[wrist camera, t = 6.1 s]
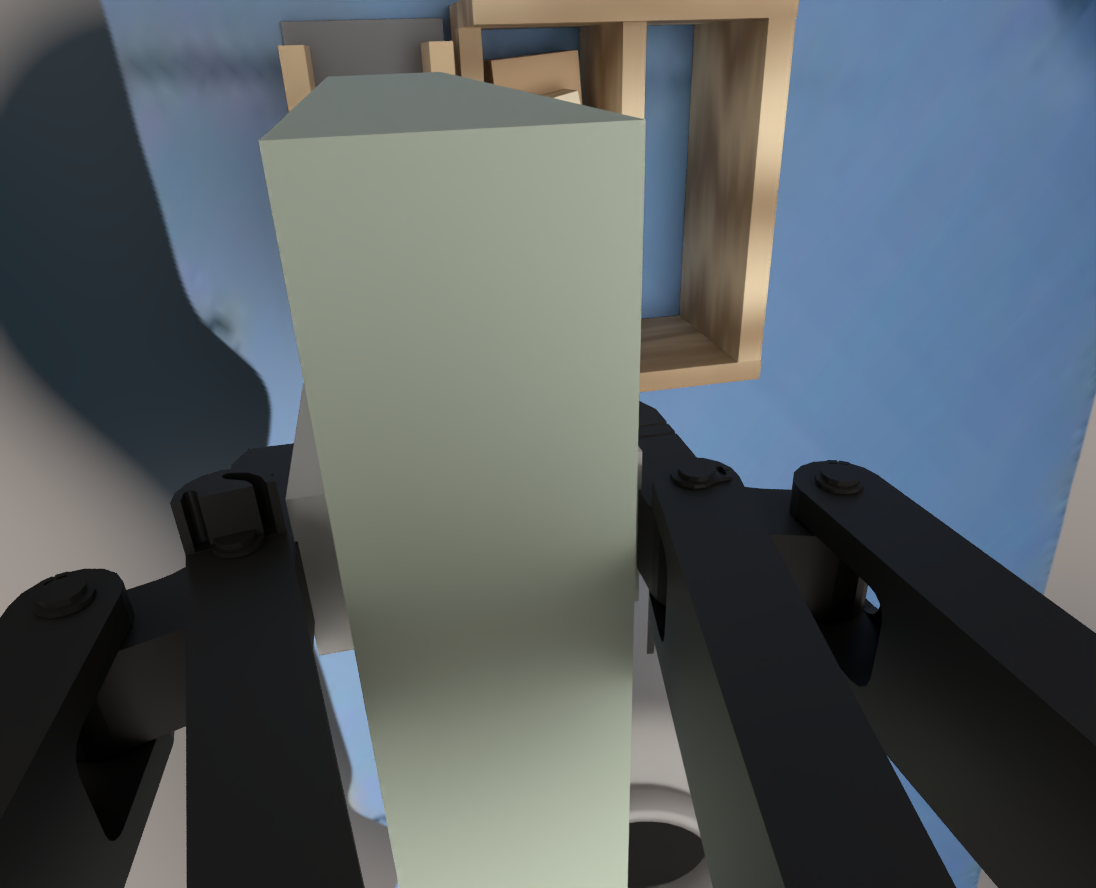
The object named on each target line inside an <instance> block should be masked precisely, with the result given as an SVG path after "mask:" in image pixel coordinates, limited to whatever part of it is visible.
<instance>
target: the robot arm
mask: <svg viewBox="0 0 1096 888" xmlns="http://www.w3.org/2000/svg"><path fill="white" fill-rule="evenodd" d="M170 504H171V508H172V511H173V514H174V518H175V521H176V524H177V528H178V531H179V535H180V538H181V541H182V544H183V548H184V551H185V555H186V567H185V568H183V569H181V570H179V571H177V572H176V573H173V574H171V575H169V576H166V577H164V578H161V579H159V580H156V581H153V582H150V583H147V584H144V585H140V586H137V587H134V588H131V589H128V590H126V589H125V586H124V583H123V581H122V580H121V578H120V577H119V575H118V574H117V573H115V572H111V571H109V570H106V569H82V570H77V571H72V572H64V573H61V574H57V575H55V577H50V578H47V579H45V580H43V581H41V582H40V583H38V584H36V585H35V586H33V587H32V588H30V589H28V590H27V591H25V592H23V593H22V594H21V595H20V596H19V597H18V598H16V600H14V601H13V602H12V603H11V604H10V605H9V606H8V608H7V609H6V610H5V612H4V613H3V615H2V616H1V617H0V888H124V886H125V883H126V880H127V877H128V875H129V872H130V868H131V866H132V863H133V860H134V857H135V854H136V851H137V848H138V845H139V842H140V839H141V837H142V833H143V831H144V828H145V825H146V822H147V819H148V816H149V813H150V810H151V807H152V804H153V801H154V798H155V795H156V793H157V790H158V787H159V783H160V781H161V778H162V775H163V772H164V769H165V766H166V763H167V760H168V757H169V754H170V752H171V749H172V746H173V742H174V731H175V730H177V729H180V728H182V727H185V726H186V778H187V779H186V781H187V782H186V784H187V785H186V792H187V793H186V795H187V796H186V800H187V801H186V803H187V804H186V808H187V888H365V887H364V882H363V878H362V873H361V869H360V864H359V859H358V855H357V850H356V845H355V841H354V836H353V832H352V827H351V822H350V818H349V813H348V809H347V804H346V800H345V795H344V790H343V786H342V781H341V776H340V772H339V767H338V763H337V758H336V754H335V749H334V744H333V740H332V735H331V731H330V726H329V722H328V717H327V712H326V708H325V703H324V698H323V694H322V690H321V685H320V680H319V675H318V671H317V666H316V662H315V657H314V653H313V643H314V634H315V639H316V643H317V648H318V653H319V655H324V654H330V653H336V652H342V651H348V650H354V645H353V640H352V635H351V629H350V624H349V619H348V613H347V608H346V603H345V598H344V592H343V587H342V582H341V576H340V571H339V566H338V560H337V555H336V550H335V544H334V539H333V534H332V529H331V523H330V518H329V513H328V507H327V502H326V497H325V491H324V486H323V481H322V476H321V470H320V465H319V460H318V454H317V449H316V444H315V438H314V433H313V428H312V422H311V417H310V412H309V407H308V401H307V396H306V391H305V385H304V382H303V388H302V395H301V401H300V408H299V414H298V421H297V427H296V434H295V441H294V444H286V445H277V446H269V447H261V448H253V449H248V450H247V451H246V452H245V453H244V454H243V455H241V456H240V457H239V458H238V459H237V460H236V461H235V462H234V463H233V464H232V466H231V469H227V470H221V471H217V472H214V473H211V474H207V475H203V476H201V477H199V478H197V479H195V480H193V481H191V482H189V483H187V484H185V485H184V486H183V487H182V488H181V489H179V490H178V491H177V492H176V493H175V494H174V496H173V498H172V501H171V503H170ZM639 572H640V574H641V576H642V578H643V580H644V581H645V583H646V585H647V587H648V589H649V603H648V632H647V654H654V647H656V652H657V656H658V660H659V664H660V668H661V673H662V677H663V681H664V685H665V689H666V694H667V698H668V702H669V706H670V710H671V715H672V719H673V723H674V727H675V731H676V736H677V740H678V744H679V748H680V752H681V757H682V761H683V765H684V769H685V773H686V777H687V782H688V786H689V790H690V794H691V798H692V803H693V807H694V811H695V815H696V819H697V824H698V828H699V832H700V836H701V840H702V845H703V849H704V853H705V857H706V861H707V866H708V870H709V874H710V878H711V882H712V886H713V888H956V886H955V884H954V883H953V881H952V879H951V877H950V875H949V873H948V871H947V869H946V867H945V865H944V864H943V862H942V860H941V858H940V856H939V854H938V852H937V850H936V848H935V847H934V845H933V843H932V841H931V839H930V837H929V835H928V833H927V831H926V829H925V828H924V826H923V824H922V822H921V820H920V818H919V816H918V814H917V812H916V811H915V809H914V807H913V805H912V803H911V801H910V799H909V797H908V795H907V793H906V792H905V790H904V788H903V786H902V784H901V782H900V780H899V778H898V776H897V775H896V773H895V771H894V769H893V767H892V765H891V763H890V761H889V759H890V760H891V761H892V762H893V763H894V764H895V766H896V767H897V768H898V769H899V770H900V772H901V773H902V774H903V775H904V776H905V778H906V779H907V780H908V781H909V782H910V783H911V785H912V786H913V787H914V788H915V789H916V791H917V792H918V793H919V794H920V795H921V797H922V798H923V799H924V800H925V801H926V803H927V804H928V805H929V806H930V807H931V808H932V810H933V811H934V812H935V813H936V814H937V816H938V817H939V818H940V819H941V820H942V822H943V823H944V824H945V825H946V826H947V828H948V829H949V830H950V831H951V832H952V833H953V835H954V836H955V837H956V838H957V839H958V841H959V842H960V843H961V844H962V845H963V847H964V848H965V849H966V850H967V851H968V852H969V854H970V855H971V856H972V857H973V858H974V860H975V861H976V862H977V863H978V864H979V866H980V867H981V868H982V869H983V870H984V872H985V873H986V874H987V875H988V876H989V877H990V879H991V880H992V881H993V882H994V883H995V885H996V886H997V887H998V888H1096V633H1095V632H1093V631H1092V630H1090V629H1089V628H1088V627H1086V626H1085V625H1083V624H1082V623H1081V622H1079V621H1078V620H1077V619H1075V618H1074V617H1073V616H1071V615H1070V614H1068V613H1067V612H1066V611H1064V610H1063V609H1061V608H1060V607H1059V606H1057V605H1056V604H1055V603H1053V602H1052V601H1051V600H1049V599H1048V598H1046V597H1045V596H1044V595H1042V594H1041V593H1039V592H1038V591H1037V590H1035V589H1034V588H1033V587H1031V586H1030V585H1028V584H1027V583H1026V582H1024V581H1023V580H1022V579H1020V578H1019V577H1017V576H1016V575H1015V574H1013V573H1012V572H1011V571H1009V570H1008V569H1006V568H1005V567H1004V566H1002V565H1001V564H1000V563H998V562H997V561H995V560H994V559H993V558H991V557H990V556H988V555H987V554H986V553H984V552H983V551H982V550H980V549H979V548H977V547H976V546H975V545H973V544H972V543H971V542H969V541H968V540H966V539H965V538H964V537H962V536H961V535H960V534H958V533H957V532H955V531H954V530H953V529H951V528H950V527H949V526H947V525H946V524H944V523H943V522H942V521H940V520H939V519H937V518H936V517H935V516H933V515H932V514H931V513H929V512H928V511H926V510H925V509H924V508H922V507H921V506H920V505H918V504H917V503H915V502H914V501H913V500H911V499H910V498H909V497H907V496H906V495H904V494H903V493H902V492H900V491H899V490H898V489H896V488H895V487H893V486H892V485H891V484H889V483H888V482H886V481H885V480H884V479H882V478H881V477H880V476H878V475H877V474H875V473H873V472H871V471H869V470H867V469H865V468H863V467H860V466H857V465H853V464H851V463H849V462H844V461H839V462H837V460H827V461H820V462H812V463H809V464H806V465H803V466H801V467H800V468H798V469H797V470H796V471H795V472H794V477H793V484H792V490H783V489H759V488H749V487H744V485H743V483H742V481H741V479H740V477H739V475H738V474H737V473H736V472H735V471H734V470H733V469H732V468H731V467H729V466H727V465H725V464H723V463H721V462H718V461H714V460H709V459H705V458H697V457H696V456H695V455H694V454H693V453H692V451H691V450H690V449H689V448H688V447H687V445H686V444H685V443H684V442H683V441H682V439H681V438H680V437H679V436H678V435H677V434H675V431H674V430H673V429H672V428H671V426H670V425H669V424H667V423H666V420H665V419H664V418H663V417H662V416H661V415H660V413H659V412H658V411H657V410H656V409H655V408H653V407H650V406H648V405H646V404H644V403H642V402H640V401H639V428H638V470H637V512H636V554H635V595H634V602H636V601H638V600H639ZM868 585H869V586H870V588H871V589H872V590H873V591H874V593H875V594H876V596H877V598H878V600H879V602H880V607H879V609H877V608H876V607H874V606H873V605H872V604H871V603H870V602H869V601H868V600H867V599H866V593H867V587H868ZM886 755H887V756H888V757H889V759H888V757H887V756H886Z"/></svg>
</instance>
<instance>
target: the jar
mask: <svg viewBox="0 0 1096 888" xmlns="http://www.w3.org/2000/svg"><path fill="white" fill-rule="evenodd" d="M648 603H649V589H648V587H647V585H646V583H645V581H644V580H643V578H642V576H641V574H640V572H639V600H638V601H636V602H634V637H633V679H632V721H631V763H630V805H629V847H628V888H713V886H712V882H711V878H710V874H709V870H708V866H707V861H706V857H705V853H704V849H703V845H702V840H701V836H700V832H699V828H698V824H697V819H696V815H695V811H694V807H693V803H692V798H691V794H690V790H689V786H688V782H687V777H686V773H685V769H684V765H683V761H682V757H681V752H680V748H679V744H678V740H677V736H676V731H675V727H674V723H673V719H672V715H671V710H670V706H669V702H668V698H667V694H666V689H665V685H664V681H663V677H662V673H661V668H660V664H659V660H658V656H657V652H656V647H654V654H647V632H648Z"/></svg>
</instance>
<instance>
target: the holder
mask: <svg viewBox="0 0 1096 888" xmlns="http://www.w3.org/2000/svg"><path fill="white" fill-rule="evenodd" d="M280 23H281V29H282V35H283V42H284V45H283V46H278V50H279V56H280V62H281V68H282V74H283V80H284V86H285V93H286V99H287V105H288V111H289V112H290V111H291V110H292V109H293V108H294V107H295V106H296V105H297V104H299V103H300V102H301V101H302V100H303V99H304V98H305V97H306V96H307V95H308V94H309V93H310V92H312V91H313V90H314V89H315V88H316V87H317V86H318V85H319V84H320V83H321V82H322V81H323V80H324V79H326V78H327V77H328V76H351V75H376V74H400V73H425V72H443V73H448V74H452V75H455V63H454V49H453V41H444V34H443V21H442V18H419V19H372V20H325V21H280Z"/></svg>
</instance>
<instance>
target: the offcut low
mask: <svg viewBox="0 0 1096 888" xmlns="http://www.w3.org/2000/svg"><path fill="white" fill-rule="evenodd" d="M483 70H484V82H486V83H491V84H495V85H499V86H503V87H508V88H512V89H516V90H521V91H525V92H529V93H533V94H538V95H544V94H547V93H551V92H554V91H557V90H561V89H570V90H576V91H578V94H579V99H580V104H581V105H582V96H581V83H580V71H579V58H578V50H561V51H553V52H545V53H537V54H529V55H521V56H513V57H505V58H497V59H489V60H483Z"/></svg>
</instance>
